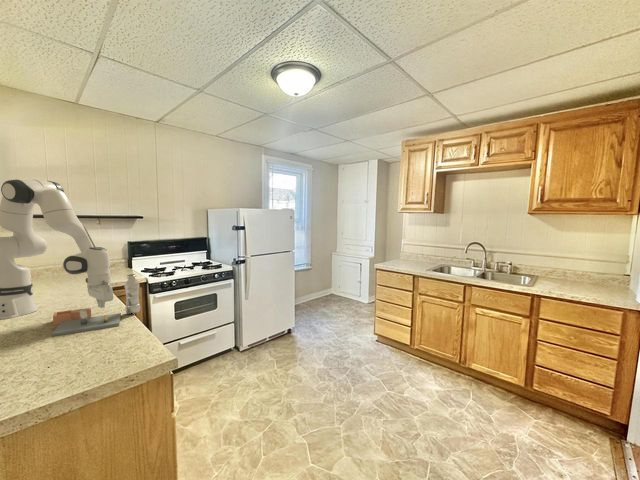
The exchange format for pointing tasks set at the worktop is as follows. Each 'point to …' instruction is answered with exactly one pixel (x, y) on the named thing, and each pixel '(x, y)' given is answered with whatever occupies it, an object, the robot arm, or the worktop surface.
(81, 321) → the post
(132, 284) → the plastic bottle
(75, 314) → the orange hollow block
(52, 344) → the worktop surface
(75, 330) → the board
